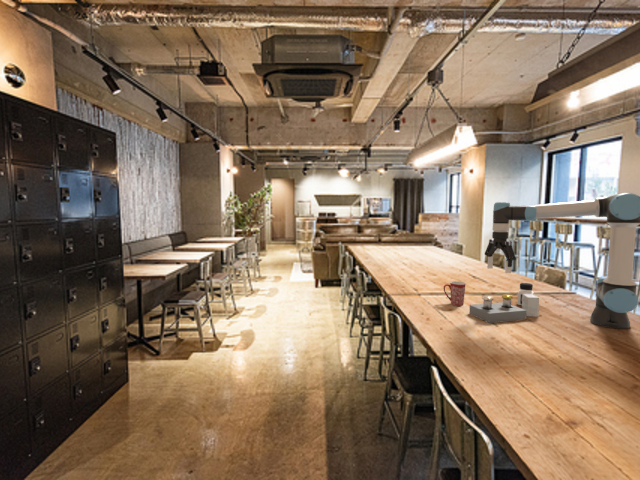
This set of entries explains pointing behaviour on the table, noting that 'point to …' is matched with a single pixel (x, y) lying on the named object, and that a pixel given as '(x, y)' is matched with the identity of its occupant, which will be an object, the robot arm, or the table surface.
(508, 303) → the gold lidded glass jar
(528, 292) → the container
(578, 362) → the table surface
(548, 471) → the table surface
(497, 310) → the block
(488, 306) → the plug cream
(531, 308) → the small box
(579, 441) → the table surface
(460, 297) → the mug
